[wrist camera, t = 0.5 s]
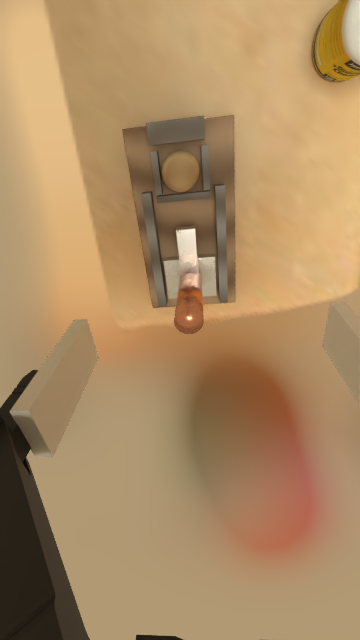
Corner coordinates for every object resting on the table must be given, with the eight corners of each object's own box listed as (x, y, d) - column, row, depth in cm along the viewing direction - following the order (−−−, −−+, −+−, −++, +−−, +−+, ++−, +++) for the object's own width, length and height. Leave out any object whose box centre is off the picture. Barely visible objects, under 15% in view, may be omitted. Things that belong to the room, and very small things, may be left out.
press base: (124, 129, 36) (113, 127, 31) (232, 115, 34) (238, 111, 30) (153, 304, 48) (148, 322, 43) (234, 298, 47) (238, 316, 42)
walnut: (161, 152, 36) (157, 153, 32) (197, 147, 35) (197, 148, 31) (166, 191, 38) (162, 196, 34) (200, 187, 37) (200, 192, 34)
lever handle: (159, 226, 40) (145, 258, 29) (212, 221, 39) (219, 252, 28) (169, 295, 45) (160, 345, 34) (216, 292, 45) (222, 342, 33)
